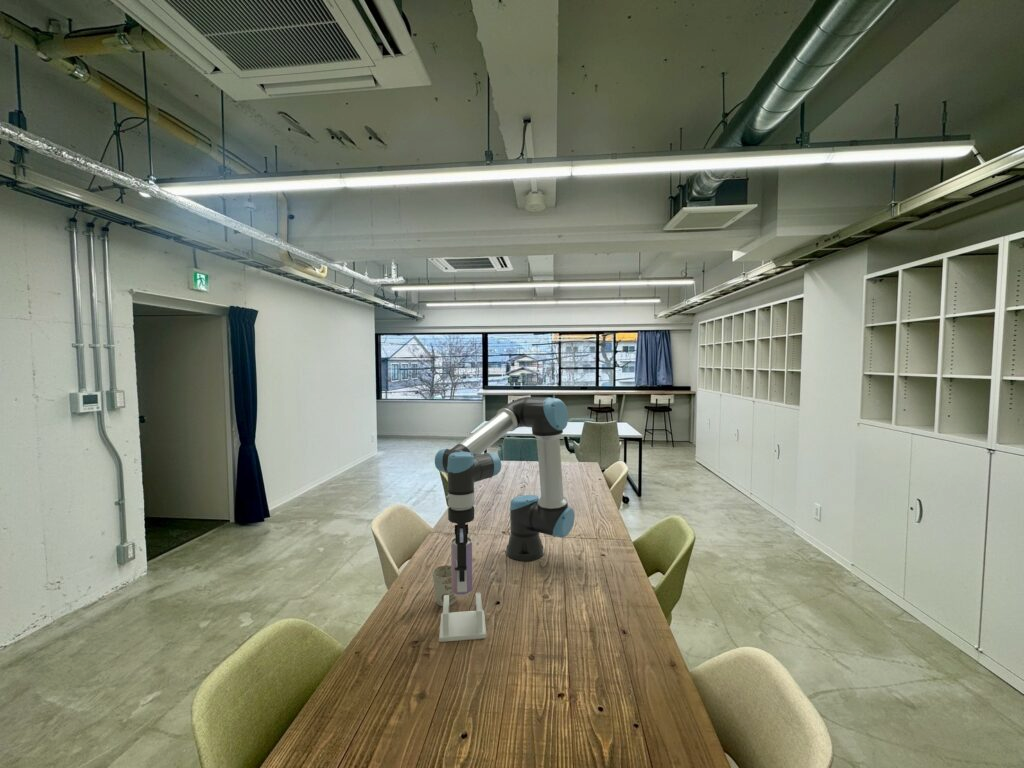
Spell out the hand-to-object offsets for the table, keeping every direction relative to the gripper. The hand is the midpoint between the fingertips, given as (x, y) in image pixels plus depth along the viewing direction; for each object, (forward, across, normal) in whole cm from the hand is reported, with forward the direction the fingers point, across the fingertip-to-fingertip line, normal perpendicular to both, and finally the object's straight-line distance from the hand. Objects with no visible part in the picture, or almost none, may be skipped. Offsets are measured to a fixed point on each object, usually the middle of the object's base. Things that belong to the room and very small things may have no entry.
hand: (462, 585), depth 123 cm
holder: (+12, 0, 0) cm, 12 cm away
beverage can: (+2, 0, 0) cm, 2 cm away
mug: (+13, -17, -6) cm, 22 cm away
